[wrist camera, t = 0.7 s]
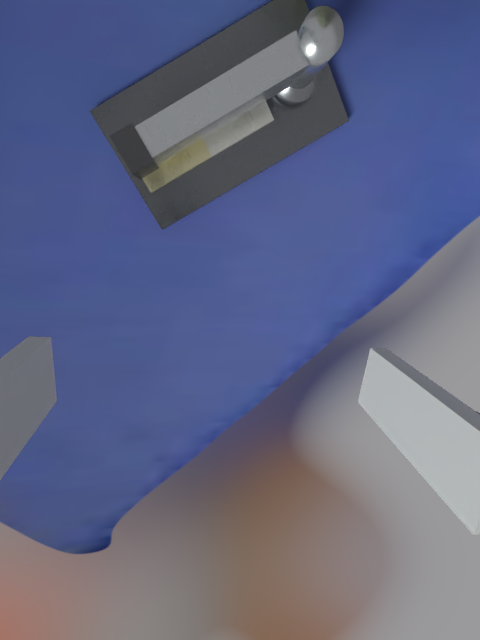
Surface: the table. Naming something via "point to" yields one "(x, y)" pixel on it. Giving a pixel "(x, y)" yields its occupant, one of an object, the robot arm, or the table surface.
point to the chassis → (236, 136)
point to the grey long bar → (232, 93)
